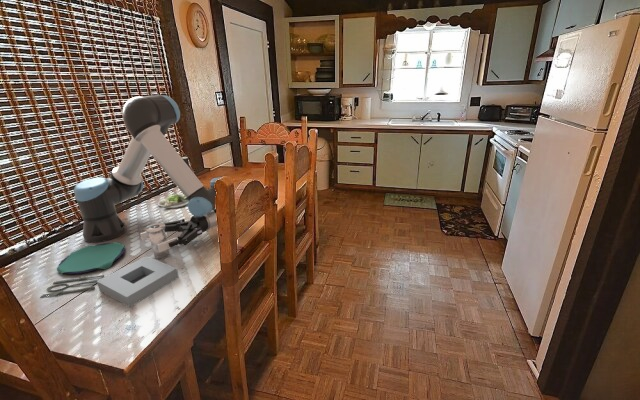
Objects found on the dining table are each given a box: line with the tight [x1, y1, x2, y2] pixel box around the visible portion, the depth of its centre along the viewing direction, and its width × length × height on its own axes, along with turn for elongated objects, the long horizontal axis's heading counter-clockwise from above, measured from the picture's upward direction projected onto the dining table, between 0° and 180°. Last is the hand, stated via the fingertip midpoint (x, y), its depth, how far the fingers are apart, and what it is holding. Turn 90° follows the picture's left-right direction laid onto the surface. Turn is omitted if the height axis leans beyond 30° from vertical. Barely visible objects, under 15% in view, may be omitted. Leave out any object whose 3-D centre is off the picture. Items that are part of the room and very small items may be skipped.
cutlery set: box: [39, 242, 126, 299], centre depth 105 cm, size 20×30×2 cm, turn 13°
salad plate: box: [157, 193, 189, 209], centre depth 160 cm, size 19×18×5 cm
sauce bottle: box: [181, 156, 193, 171], centre depth 177 cm, size 7×6×20 cm
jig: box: [96, 255, 179, 308], centre depth 96 cm, size 16×16×4 cm
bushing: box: [145, 222, 171, 261], centre depth 110 cm, size 6×6×12 cm
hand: (149, 242), depth 107 cm, fingers open, 13 cm apart
